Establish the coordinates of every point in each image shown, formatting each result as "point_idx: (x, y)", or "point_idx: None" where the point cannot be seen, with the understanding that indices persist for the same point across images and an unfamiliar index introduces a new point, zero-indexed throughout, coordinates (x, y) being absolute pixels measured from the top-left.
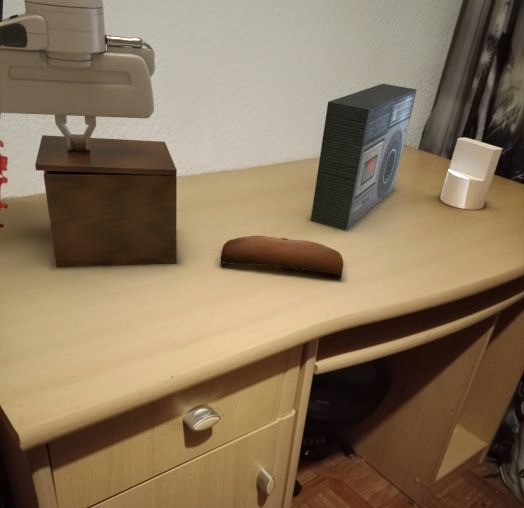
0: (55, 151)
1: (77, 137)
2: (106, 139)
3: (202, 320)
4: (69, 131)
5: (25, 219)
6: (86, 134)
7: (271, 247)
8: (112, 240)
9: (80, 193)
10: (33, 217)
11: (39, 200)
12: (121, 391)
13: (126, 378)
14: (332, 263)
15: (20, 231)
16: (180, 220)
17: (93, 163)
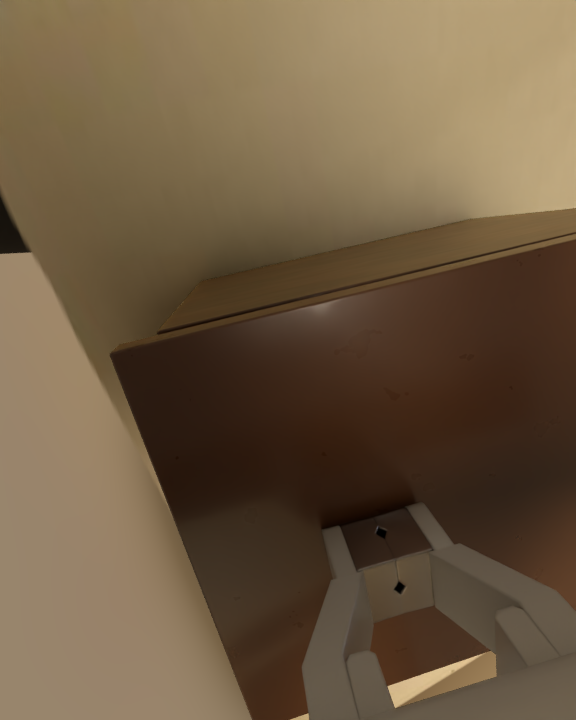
0: (281, 589)
1: (402, 607)
2: (486, 283)
3: None
4: (360, 591)
5: (81, 231)
6: (460, 621)
7: None
8: None
9: None
10: (97, 211)
11: (44, 32)
12: (401, 698)
13: (404, 683)
14: None
15: (108, 319)
16: (513, 159)
17: (445, 643)
